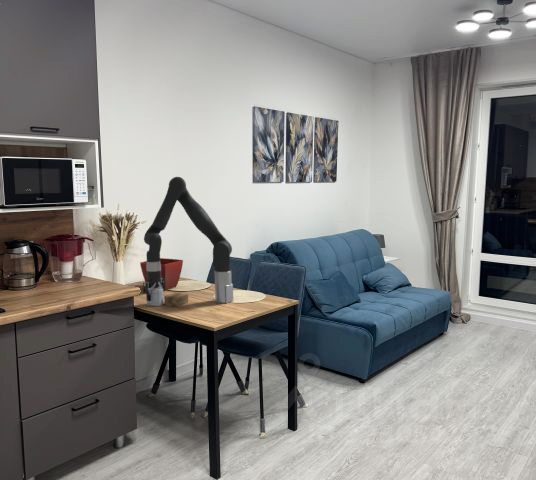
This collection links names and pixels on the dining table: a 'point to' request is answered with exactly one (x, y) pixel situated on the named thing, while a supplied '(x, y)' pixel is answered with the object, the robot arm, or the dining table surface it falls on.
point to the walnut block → (176, 299)
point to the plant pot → (166, 271)
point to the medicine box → (156, 297)
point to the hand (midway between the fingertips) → (154, 299)
